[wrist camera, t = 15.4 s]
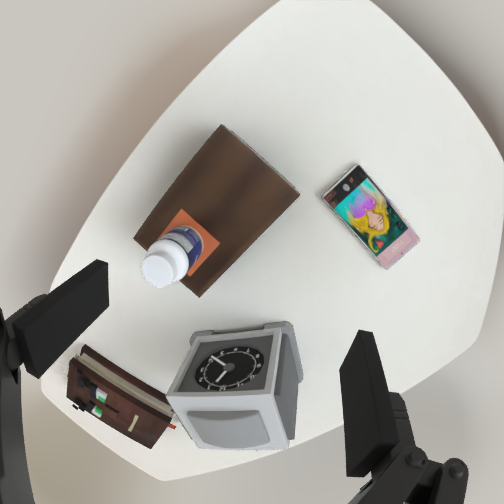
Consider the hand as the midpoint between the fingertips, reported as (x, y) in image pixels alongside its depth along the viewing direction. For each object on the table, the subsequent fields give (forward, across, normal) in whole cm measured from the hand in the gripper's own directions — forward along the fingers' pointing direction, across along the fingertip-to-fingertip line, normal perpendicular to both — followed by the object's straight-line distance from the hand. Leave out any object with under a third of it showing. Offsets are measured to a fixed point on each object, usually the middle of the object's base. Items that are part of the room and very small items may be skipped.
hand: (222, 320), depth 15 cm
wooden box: (+31, -8, -4) cm, 32 cm away
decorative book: (+31, -25, -53) cm, 66 cm away
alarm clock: (+31, +2, -29) cm, 42 cm away
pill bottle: (+26, -10, -8) cm, 29 cm away
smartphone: (+31, +14, +1) cm, 34 cm away
